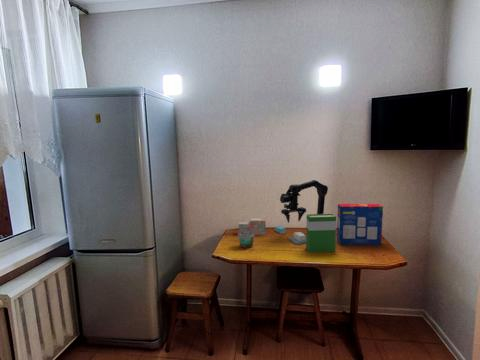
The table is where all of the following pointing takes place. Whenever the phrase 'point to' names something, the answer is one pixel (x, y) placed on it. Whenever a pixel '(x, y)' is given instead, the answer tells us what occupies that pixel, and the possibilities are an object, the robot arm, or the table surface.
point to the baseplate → (297, 241)
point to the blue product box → (359, 224)
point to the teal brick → (280, 229)
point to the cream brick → (299, 236)
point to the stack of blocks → (253, 226)
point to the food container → (245, 240)
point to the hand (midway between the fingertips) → (293, 221)
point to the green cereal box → (321, 232)
